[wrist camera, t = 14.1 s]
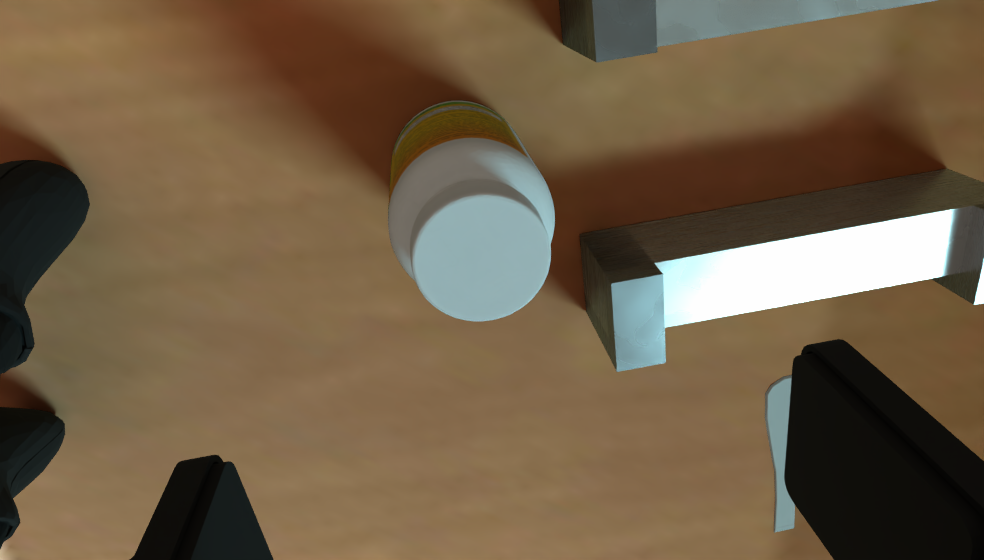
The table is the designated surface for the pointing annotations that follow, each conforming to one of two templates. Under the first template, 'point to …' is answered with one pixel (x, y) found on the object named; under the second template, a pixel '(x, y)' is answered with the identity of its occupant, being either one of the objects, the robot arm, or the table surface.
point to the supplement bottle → (469, 212)
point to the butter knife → (779, 448)
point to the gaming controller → (3, 317)
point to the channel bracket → (761, 207)
